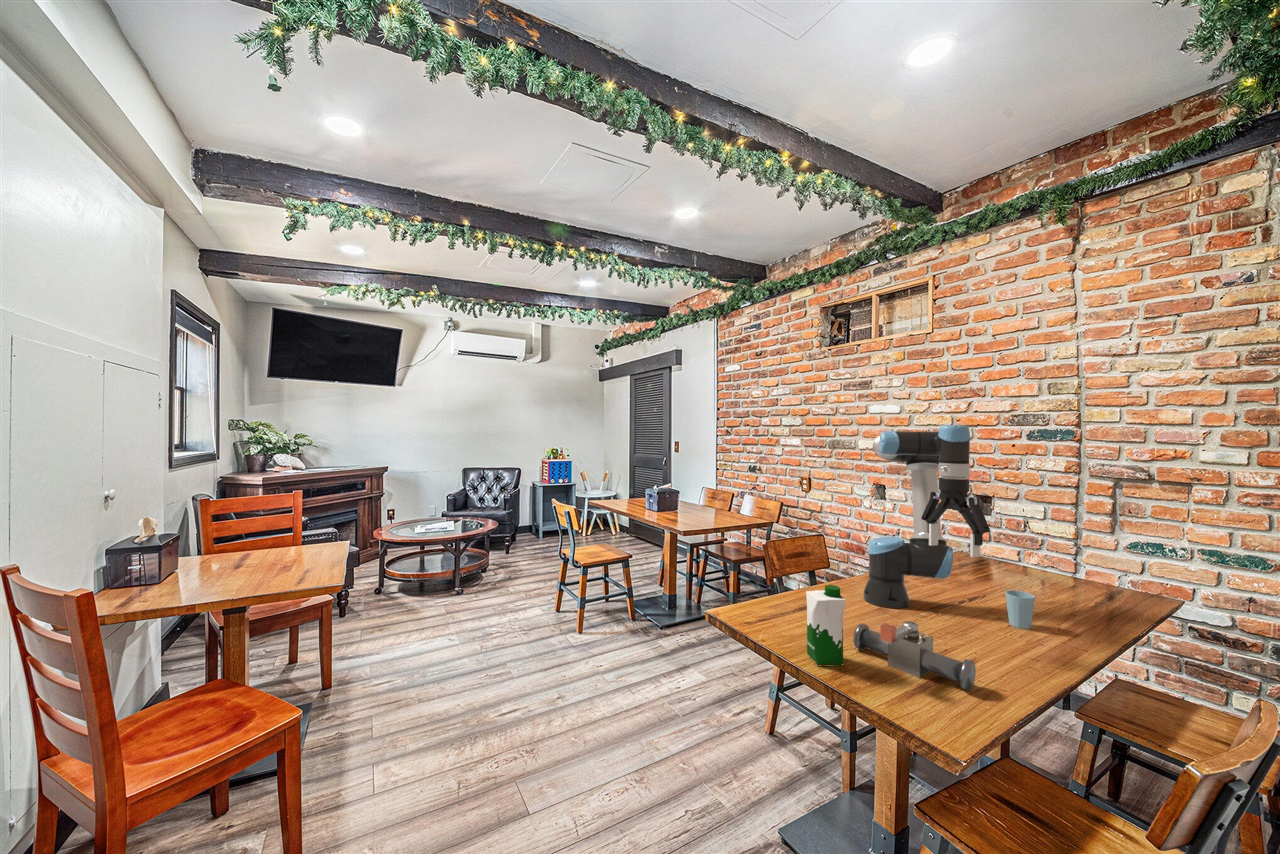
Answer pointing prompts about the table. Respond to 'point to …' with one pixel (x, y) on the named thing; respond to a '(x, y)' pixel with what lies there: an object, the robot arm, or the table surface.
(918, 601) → the table surface
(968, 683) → the valve body
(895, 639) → the lever
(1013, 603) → the cup
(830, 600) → the milk carton
